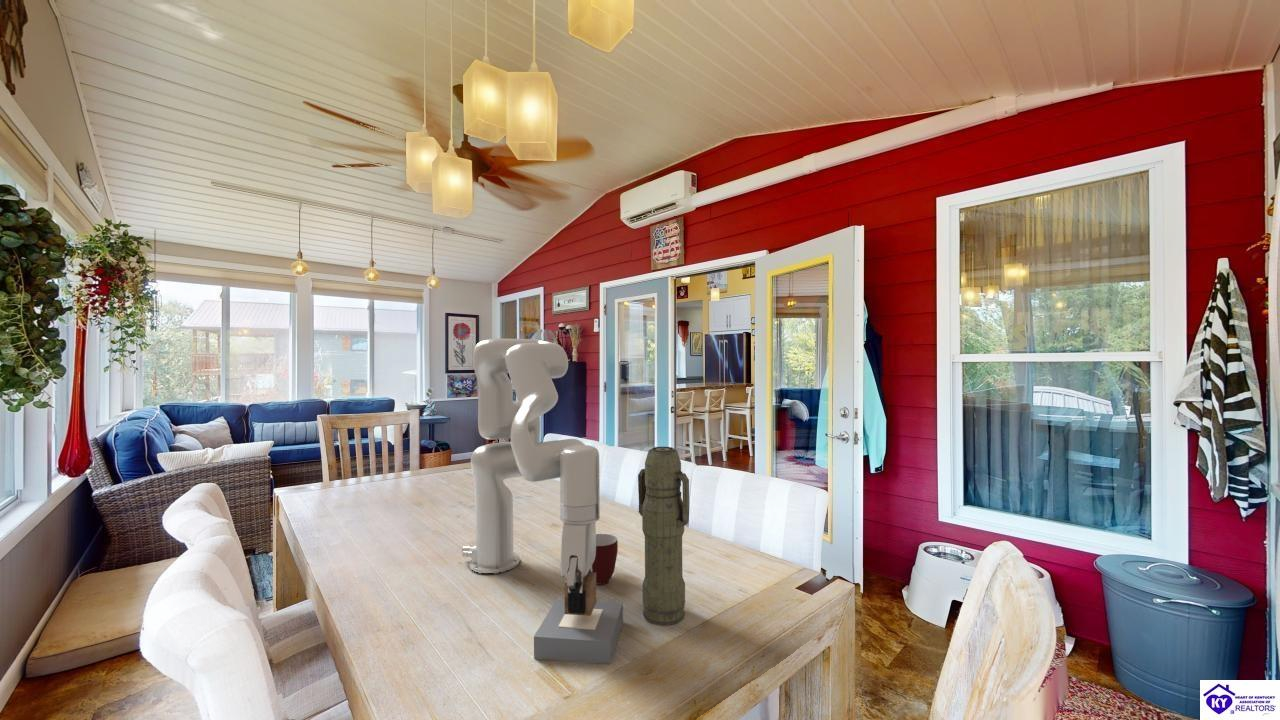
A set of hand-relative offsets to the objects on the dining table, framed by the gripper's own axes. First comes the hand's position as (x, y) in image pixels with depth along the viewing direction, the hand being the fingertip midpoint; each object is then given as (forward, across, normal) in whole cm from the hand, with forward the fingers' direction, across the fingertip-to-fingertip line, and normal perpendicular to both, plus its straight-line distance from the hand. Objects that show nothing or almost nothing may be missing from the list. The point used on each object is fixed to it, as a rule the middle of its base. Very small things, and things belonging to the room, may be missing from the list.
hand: (580, 603), depth 96 cm
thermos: (+7, -11, +15) cm, 20 cm away
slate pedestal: (+7, 0, 0) cm, 7 cm away
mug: (+7, -26, -1) cm, 27 cm away
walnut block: (+1, 0, 0) cm, 1 cm away
